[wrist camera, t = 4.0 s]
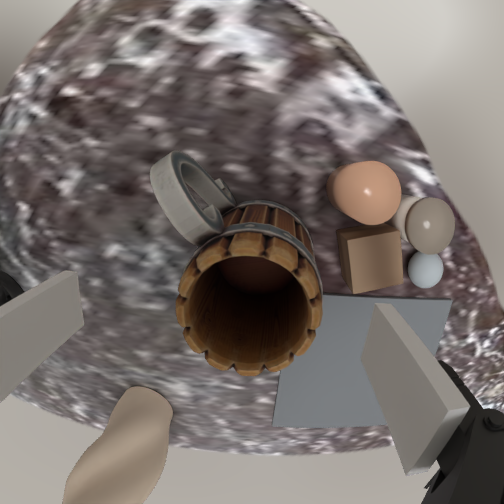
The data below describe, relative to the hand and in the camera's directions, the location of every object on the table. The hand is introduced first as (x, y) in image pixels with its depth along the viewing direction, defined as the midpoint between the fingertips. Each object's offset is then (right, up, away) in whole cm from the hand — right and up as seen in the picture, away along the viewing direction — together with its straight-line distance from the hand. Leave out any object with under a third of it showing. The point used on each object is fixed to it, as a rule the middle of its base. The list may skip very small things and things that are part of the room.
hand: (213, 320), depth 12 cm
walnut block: (+13, +3, +18) cm, 22 cm away
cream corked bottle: (-13, -19, +25) cm, 34 cm away
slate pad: (+15, -12, +21) cm, 28 cm away
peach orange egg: (+11, +9, +16) cm, 22 cm away
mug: (+1, +5, +18) cm, 19 cm away
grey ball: (+20, +1, +16) cm, 25 cm away
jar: (+17, +7, +17) cm, 25 cm away
